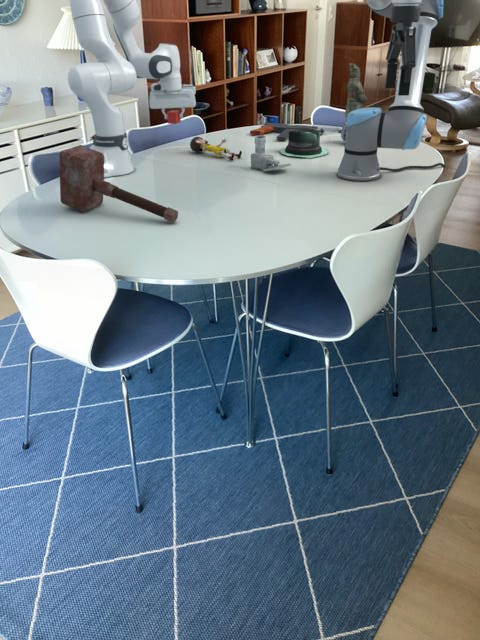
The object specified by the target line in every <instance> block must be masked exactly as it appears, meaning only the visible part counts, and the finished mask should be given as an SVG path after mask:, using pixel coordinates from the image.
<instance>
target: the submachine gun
mask: <svg viewBox="0 0 480 640" xmlns="http://www.w3.org/2000/svg"><path fill="white" fill-rule="evenodd" d="M298 128H311V129H316V130H318V131H319V132H320V136H322V135H323V134H324V133H325V130H324V128H319V127H318V126H315V125H313V126H312V125H304V124H303V125H302V124H291V123H278V122H264V124H262V125H261V126H260V127H259V128H256V129H252V130H250V131H249V134H250V135H251V136H259V135H262V136H263V135H265V134H268V133H278V135H277V136H276V141H287V140H288V139H289V131H291V130H294V129H298ZM318 128H319V129H318Z"/></svg>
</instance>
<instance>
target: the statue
mask: <svg viewBox="0 0 480 640" xmlns="http://www.w3.org/2000/svg"><path fill="white" fill-rule="evenodd" d="M348 70H349V73H350V75H349V76H350V78H349V81H348V82H347V85H346V90H347V98H346V99H347V100H346V101H347V102H346V106H345V112H344V115H345V123H346V122H347V116H348V114H349V113H350V112H351V111H354V110H357V109H362V108H364V104H365V103H367V102H368V96H367V95H366V94H365V91H364V86H363V84H362V82H361V68H360V67H359V66H358V65H357V64H356V63H351V62H350V63H348Z"/></svg>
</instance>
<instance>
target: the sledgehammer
mask: <svg viewBox="0 0 480 640" xmlns="http://www.w3.org/2000/svg"><path fill="white" fill-rule="evenodd" d="M59 193H60V194H59V196H60V202H61V204H63V205H64V206H67V207H69V208H72V209H74V210H77V211H78V212H81V213H83V214H84V213H86V212H88V211H90V210H93V209H94V208H96V207H98V206H102V204H103V203H104V196H105V197H109V198H112V199H116V200H119V201H121V202H123V203H126V204H128V205H131V206H134V207H136V208H138V209H141V210H143V211H145V212H148V213H151V214H153V215H156V216H158V217H161V218H163V220H166V221H168V222H170V223H176V221H177V219H178V218H179V211H178V210H177V209H174V208H171V207H169V206H168V207H167V206H164V205H162V204H159V203H157V202H155V201H152V200H149V199H147V198H145V197H143V196H140V195H137V194H134V193H132V192H130V191H127V190H125V189H123V188H121V187H119V186H117V185H115V184H112V183H111V182H109V181H107V180H105V178H104V155H103V154H102V153H101V152H98V151H95V150H93V149H90V147H87V146H85V145H82V144H79V145H75V146H73V147H70V148H67V149H62V150H61V151H60V152H59Z"/></svg>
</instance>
